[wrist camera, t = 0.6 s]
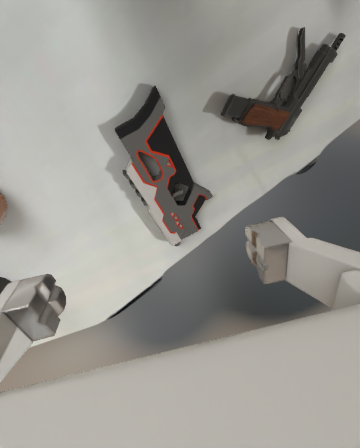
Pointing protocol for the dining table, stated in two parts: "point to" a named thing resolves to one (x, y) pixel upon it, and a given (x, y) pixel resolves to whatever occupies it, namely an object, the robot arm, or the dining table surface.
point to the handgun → (290, 110)
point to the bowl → (2, 208)
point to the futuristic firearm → (161, 172)
